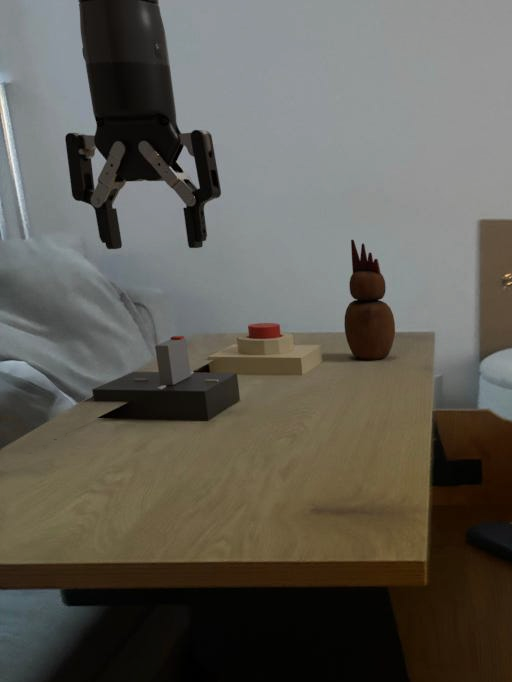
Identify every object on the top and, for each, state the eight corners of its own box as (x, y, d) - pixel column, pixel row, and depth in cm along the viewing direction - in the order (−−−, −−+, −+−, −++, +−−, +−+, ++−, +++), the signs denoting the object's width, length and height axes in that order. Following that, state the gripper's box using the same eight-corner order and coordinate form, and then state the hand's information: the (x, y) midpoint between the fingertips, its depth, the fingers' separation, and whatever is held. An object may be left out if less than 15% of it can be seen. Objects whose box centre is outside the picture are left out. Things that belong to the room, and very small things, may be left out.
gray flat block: (173, 385, 102) (167, 343, 100) (160, 384, 102) (154, 342, 101) (191, 376, 107) (185, 335, 105) (178, 375, 107) (173, 335, 105)
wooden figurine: (338, 358, 134) (330, 240, 128) (370, 352, 138) (364, 237, 132) (371, 364, 130) (365, 242, 124) (403, 358, 134) (399, 239, 127)
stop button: (245, 341, 125) (243, 327, 124) (254, 336, 129) (253, 322, 128) (275, 341, 125) (274, 327, 124) (284, 337, 128) (283, 323, 127)
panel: (96, 418, 102) (91, 387, 101) (137, 398, 111) (132, 370, 110) (208, 420, 101) (204, 389, 100) (240, 400, 110) (237, 371, 109)
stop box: (209, 374, 124) (205, 341, 123) (236, 360, 133) (232, 330, 132) (302, 375, 123) (299, 342, 121) (322, 361, 132) (320, 330, 130)
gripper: (215, 63, 95) (235, 245, 101) (74, 67, 96) (104, 246, 103) (186, 55, 88) (210, 250, 95) (34, 60, 89) (69, 251, 96)
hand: (154, 248), depth 99 cm, fingers open, 8 cm apart
